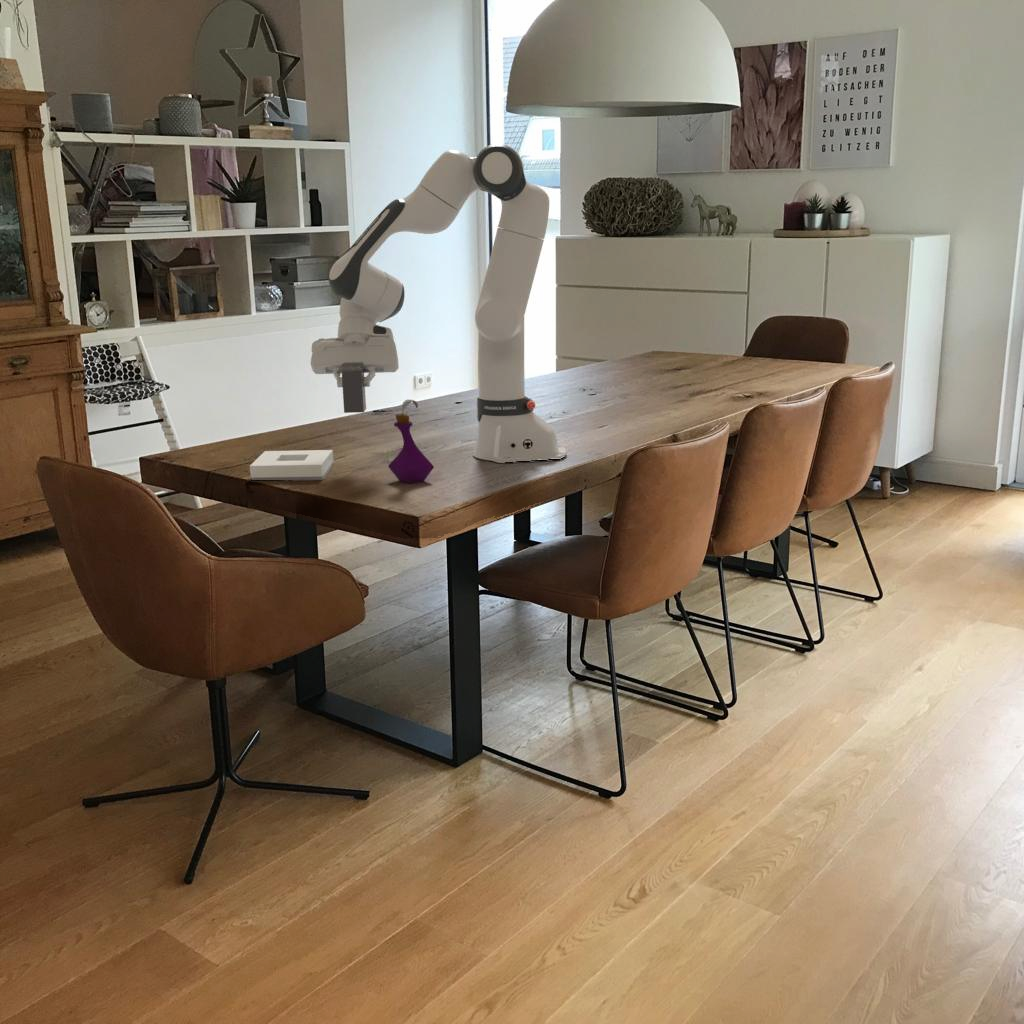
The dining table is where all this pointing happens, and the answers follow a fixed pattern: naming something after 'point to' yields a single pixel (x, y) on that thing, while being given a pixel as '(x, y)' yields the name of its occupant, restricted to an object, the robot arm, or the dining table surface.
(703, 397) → the dining table surface
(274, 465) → the socket block
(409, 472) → the perfume bottle
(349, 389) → the plug
